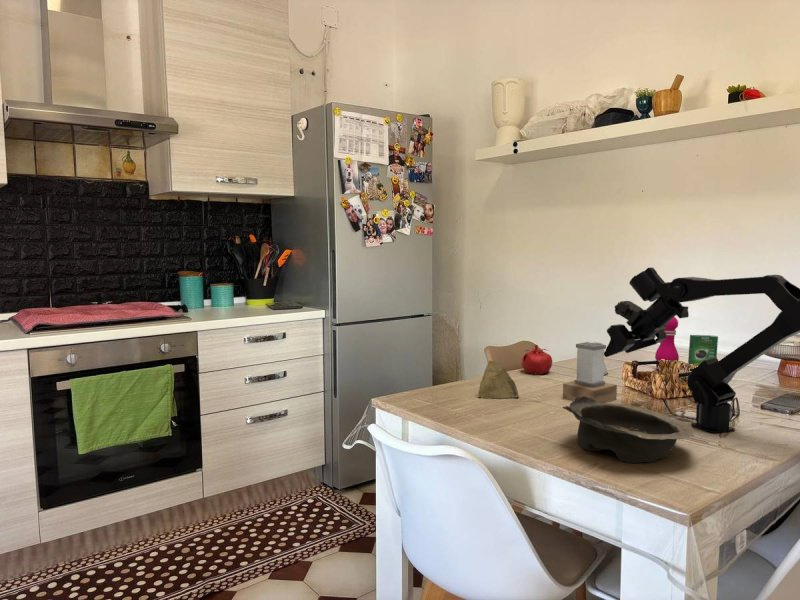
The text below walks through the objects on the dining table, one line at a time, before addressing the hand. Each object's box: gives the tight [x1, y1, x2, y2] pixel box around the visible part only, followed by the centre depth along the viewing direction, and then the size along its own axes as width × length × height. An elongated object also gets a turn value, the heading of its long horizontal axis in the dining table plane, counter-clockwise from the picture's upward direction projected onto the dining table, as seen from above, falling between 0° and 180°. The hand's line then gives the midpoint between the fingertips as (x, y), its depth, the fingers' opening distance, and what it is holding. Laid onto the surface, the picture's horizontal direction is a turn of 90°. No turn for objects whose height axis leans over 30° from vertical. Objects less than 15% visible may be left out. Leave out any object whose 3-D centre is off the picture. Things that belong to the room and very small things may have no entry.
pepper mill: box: [654, 316, 680, 361], centre depth 198 cm, size 7×7×20 cm
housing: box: [574, 341, 607, 388], centre depth 161 cm, size 6×5×11 cm
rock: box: [477, 360, 520, 399], centre depth 164 cm, size 11×9×10 cm
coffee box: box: [687, 334, 719, 366], centre depth 190 cm, size 8×3×13 cm, turn 90°
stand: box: [562, 380, 618, 404], centre depth 162 cm, size 10×10×4 cm
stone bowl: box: [562, 396, 695, 464], centre depth 122 cm, size 25×25×9 cm
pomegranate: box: [521, 344, 553, 375], centre depth 195 cm, size 10×10×9 cm
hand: (615, 353), depth 155 cm, fingers open, 9 cm apart
